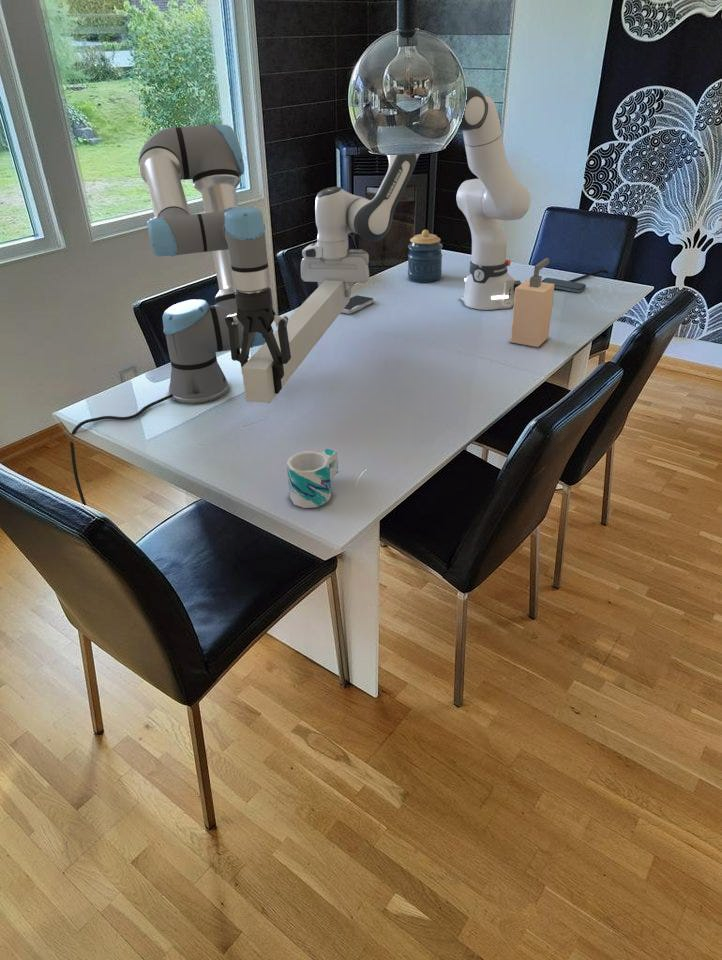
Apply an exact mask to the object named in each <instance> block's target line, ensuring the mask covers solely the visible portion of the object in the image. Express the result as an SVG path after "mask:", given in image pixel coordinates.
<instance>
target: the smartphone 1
mask: <svg viewBox="0 0 722 960" xmlns="http://www.w3.org/2000/svg"><path fill="white" fill-rule="evenodd" d="M373 303H374V298H373V297H370V296H369V297H368V296H363V295H354V296H352V297H350V301H349V303H348V304H347V305H346V306H345V308H344V309H343V310H342V311H341V313H342V314H348V315H351V314H353V313H355V312H357V311H359V310H362V309H364V307H367V306H369V305H372V304H373ZM341 313H340V314H341Z"/></svg>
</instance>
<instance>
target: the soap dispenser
mask: <svg viewBox="0 0 722 960" xmlns="http://www.w3.org/2000/svg"><path fill="white" fill-rule="evenodd" d="M549 264H550V258H549V257H545V258H544V259H542V260H541V261H539V262H537V264H535V265H534V269H533V275H532V276H531V277H530V278H529V280H528V279H526V280H524V281H523V282H521V283H522V284H520V285H519V286H518V287H516V288H515V298H514V305H513V309H512V321H511V332H510V343H511V344H512V343H513V344H518V345H524V346H529V347H533V348H539V347H540V346H541V345H542V344H543V343H544V342H545V341H546V340H547V339H549V334H550V325H551V316H552V307H553V301H554V300H553V299H554V292H555V288H554V285H555V284H551V283H544V282H541V281H542V279H543V278H542V275H540V271H541V270H542V269H544V268H545V267H546V266H547V265H549Z"/></svg>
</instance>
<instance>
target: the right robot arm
mask: <svg viewBox="0 0 722 960" xmlns="http://www.w3.org/2000/svg"><path fill="white" fill-rule="evenodd" d="M466 88H467V100H466V107H465V111H464V115H463V118H462V122H461V124H460V126H459V128H458V129H457V130H459V131H461V132H462V137H463V144H464V148H465V154H466V160H467V165H468V169H469V170H470V172H471V173H472V174H473V175H475V176H476V177H477V178H472V179H466V180H464V181H463V182H462V183H461V184H460V185H459V187H458V189H457V192H456V197H455V199H456V205H457V207H458V209H459V210H460V211H461V212H462V214H463V216H464V217H465V219H466V221H467V224H468V226H469V230H470V234H471V260H470V262H469V266H468V267H469V268H468V269H469V274H468V275H467V276H466V278H465V277H464V279H463V280H464V282H465V283H464V290H463V291H464V292H463V295H461V296H460V301H462V302H463V305H465V307H468V308H469V309H470V308H471V309H474V310H480V311H482V310H483V311H494V310H502V309H504V310H507V309H511V308H512V307H514V298H515V288H516V287H518V286H519V285H520V284H522V283H523V282H521V280H515V279H514V277H512V275H510V274H509V272H508V267H510V266H511V262H512V261H511V259H506V258H507V257H506V255H507V243H508V239H507V236H506V233H505V232H504V231H502V230H501V228H500V227H499V225H498V223H497V220H500V221H518V220H521V219H523V218H524V217H525V216H526V215H527V212H528V211H529V209H530V207H531V193H530V191H529V189H528V188H527V187H526V186H524V185H523V184H522V183H521V182H520V180H518V178H517V177H516V176H515V174H514V172H513V171H512V168H511V167H510V164H509V162H508V160H507V156H506V151H505V145H504V139H503V138H504V137H503V131H502V125H501V120H500V116H499V112H498V109H497V107H496V103H495V102H494V100H493V98H491V97H490V96H487V95H484V94H483V93H482V92H481V91H480V90H479V89H477V88H476V87H474V86H468V85H466ZM419 156H420V154H415V155H386V157H387V160H388V168H387V170H386V171H387V172H386V174H385V175H384V177H383V180H382V182H381V184H380V186H379V188H378V190H377V192H376V194H375V195H374V197H373V198H372V199H369V198H367V197H364V196H361V195H356V194H352V193H351V192H348V191H346V190H344V189H343V188H342V187H341V186H330V187H326V188H323V189H322V190H320V191H319V192H317V194H316V197H315V202H314V203H315V205H314V211H315V212H314V213H315V214H314V215H315V217H314V218H315V226H316V229H317V236H316V240H317V241H316V242H314V243H310V244H308V245H307V246H305V247H304V248H303V249H302V251H301V255H302V257H303V258H302V259H301V261H300V278H301V280H302V281H303V282H305V283H306V282H307V283H308V282H309V283H317V287H319V286H320V285H321V284H322V283H323V282H324V281H325V280H333V281H343V282H345V283H348V286H349V289H348V290H346V291H345V297H350V298H351V296H352V292H351V291H352V289H353V287H354V285H355V284H365V283H367V282H368V281H369V279H370V268H369V264H370V256H369V253H368V252H367V251H365V250H364V249H362V248H361V249H354V248H349V235H350V233H351V234H352V233H354V234H356V235H358V236H359V237H360V238H362V239H363V240H364V241H366V242H369V243H376V242H378V241H381V240H382V239H384V238H385V237H386V236H387V235H388V234H389V232H390V230H391V227H392V222H393V218H394V214H395V211H396V208H397V206H398V204H399V202H400V200H401V198H402V196H403V194H404V192H405V190H406V188H407V186H408V184H409V181H410V180H411V178H412V175H413V173H414V170H415V167H416V165H417V161H418V159H419ZM601 273H605V274H609V271H608V270H607V269H604V268H603V269H597V270H596V271H593V272H589V273H586V274H584V275H581V276H579V277H576V278H573V279H570V280H568V281H571V282H577V281H580V280H582V279H585V278H588V277H591V276H595V275H597V274H601Z"/></svg>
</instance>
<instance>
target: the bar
mask: <svg viewBox="0 0 722 960" xmlns="http://www.w3.org/2000/svg"><path fill="white" fill-rule="evenodd" d="M349 287H350V286H348V283H345V282H343V281H333V280H325V281H324V282H323V283H322V284H321V285H320V286H317V288H316V289H314V291H313V292H312V293H311V294H310V295H309V296H308V297H307V298H306V299H305V300H304V302H302V304H301V305H300V306H298V307H297V309H296V310H295V311H294V312H293V313H292V314H291V315H290V316H289V317H288V323H287V333H288V340H289V347H290V354H291V359H290V360H289V361H288V363H287V364H283V367H284V376H283V378H282V379H281V384H282V388H283V387H284V385H286V383H287V382H288V381H289V379H290V378H291V377H292V375H293V374H294V373H295V372H296V370H297V369H298V368H299V367H300V365H301V364H302V362H303V361H304V360H305V359H306V358H307V356H309V354H310V353H311V351H312V350H313V349H314V347H315V346H316V345H317V343H318V342H319V341H320V340H321V338H322V337H323V336H324V335H325V333H326V332H327V331H328V330H329V328H330V327H331V326H332V324H333V323H334V322H335V321H336V319H337V318H338V317H339V315H341V311H342V310H343V309H344V308H345V306H346V305H347V304H348V303H349V301H350V298H351V296H350V297H345V291H346V290H348V289H349ZM273 334H274V336H275V339H276V342H277V344H278V347H279V349H280V343H279V336H278V329H277V330H276V331H275V332H273ZM280 352H281V350H280ZM273 364H274V361H273V358H272V356H271V353H270V351H269V348H268V346H267V343H265V344H264V345H261V347H260V348H258V349H257V351H256V352H255V353H254V354H253V355H252V356H250V357H249V359H248V361H247V363H246V364H245V365H244V366H243V367H242V369H241V374H243V375H242V380H243V386H244V396H245V402H253V403H266V404H270V403H271V402H272V401H273V400H274V398H275V397H276V396H277V394H275V390H274V381H273V373H272V366H273Z"/></svg>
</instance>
